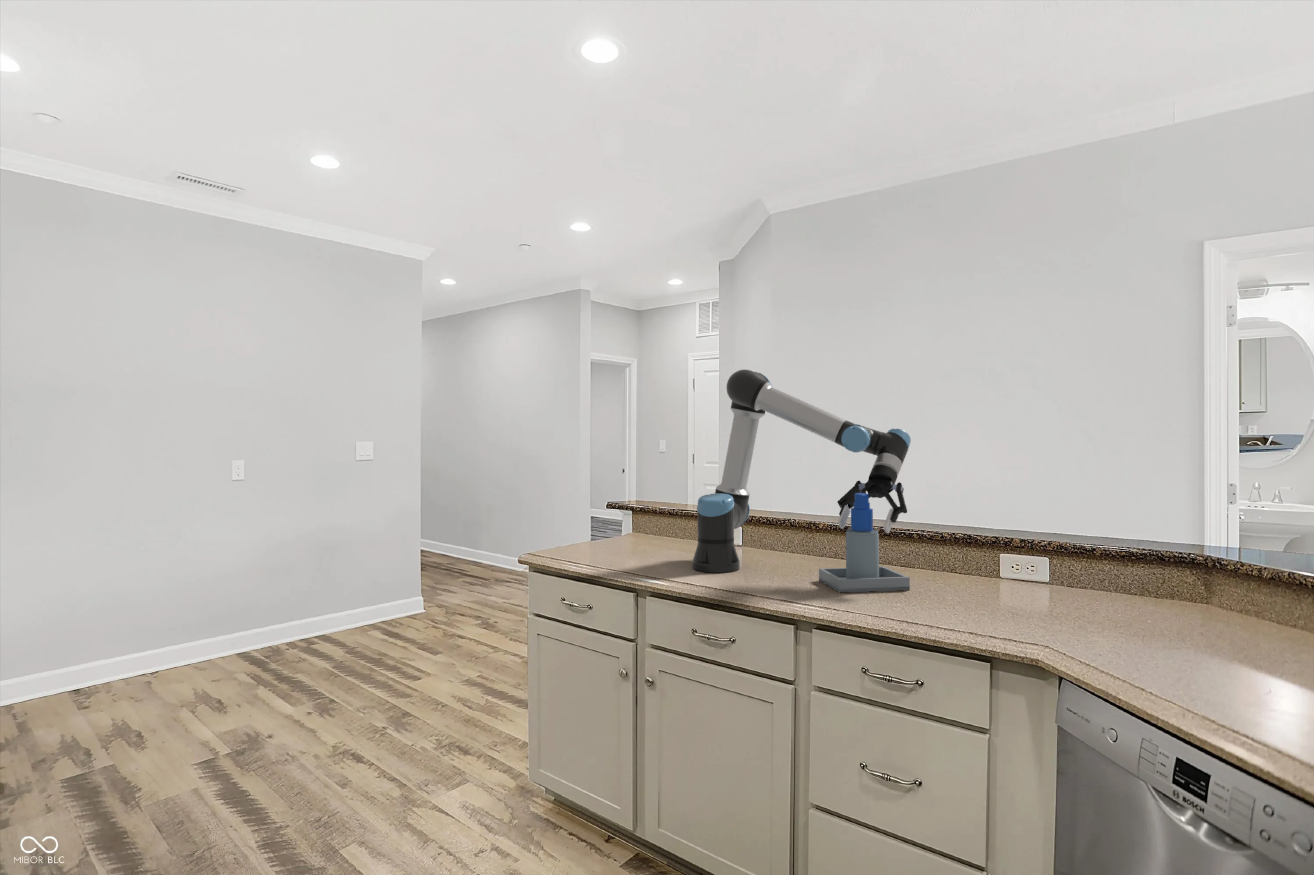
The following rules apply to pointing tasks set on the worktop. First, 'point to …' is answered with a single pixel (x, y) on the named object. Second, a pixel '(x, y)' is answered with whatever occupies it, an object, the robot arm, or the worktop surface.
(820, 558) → the worktop surface
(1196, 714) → the worktop surface
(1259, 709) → the worktop surface
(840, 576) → the tray
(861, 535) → the spray bottle
